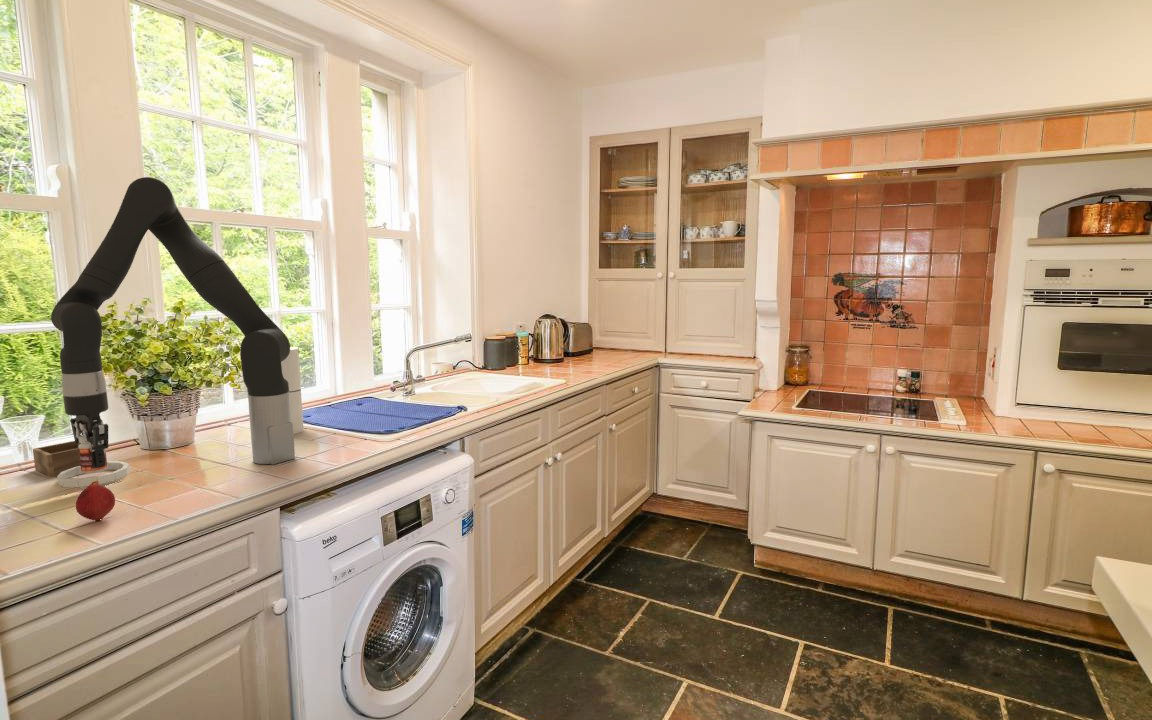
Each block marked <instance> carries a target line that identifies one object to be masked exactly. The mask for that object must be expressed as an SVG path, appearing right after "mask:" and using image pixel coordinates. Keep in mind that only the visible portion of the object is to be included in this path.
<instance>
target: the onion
mask: <svg viewBox="0 0 1152 720" xmlns="http://www.w3.org/2000/svg"><path fill="white" fill-rule="evenodd" d="M98 483H99V482H98V481H97V480H96V481H93V482H92V483H91V484H90V485H89V486H86V487H85V488H84V490H83V489H82V490H81V492H80V493H79V494H78V497H77V499H76V500H75V501H76V502H75V510H76V512H77V513H78V514H79V515H80V516H81V517H82V518H85V519H87V520H92V521H94V520H100V519H102V520H103V519H104V518H105V517H106V516H107V515H108V514H110V513H111V511H112V510H113V509H114V508H115V505H116V497H115V494H114V492H113V491H112V490H111V489H109V488H108V487H107V486H101V485H102V484H98ZM100 521H101V520H100Z"/></svg>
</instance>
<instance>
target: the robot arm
mask: <svg viewBox="0 0 1152 720" xmlns="http://www.w3.org/2000/svg"><path fill="white" fill-rule="evenodd" d="M148 230H149V231H150V232H151V234H152V235H153V236H154V237H155V238H156V239H157V240H158V241H159V242H160V243H161V244H162V245H163V247H164V248H165V249H166V251H168V253H169V255H170V257H171V258H172V260H173V262H174V263H175V265H176V266H177V268H178V269H179V270H180V272H181V273H182V275H183V276H184V277H185V279H186V280H187V282H188V283H189V284H190V285H191V286H192V287H193V289H194V290H195V292H196V293H197V294H198V295H199V296H200V297H201V299H203V300H204V301H205V302H206V303H208V304H209V305H210V306H211V307H212V308H214V309H215V310H216V311H218V312H219V313H221V314H222V315H224V316H225V317H226V318H228V319H229V320H230V321H231V322H233V323H234V325H236V326H237V327H238V330H239V331H241V333H242V334H243V335H244V337H243V339H242V340H241V343H240V349H239V350H240V351H239V355H240V363H241V373H242V379H243V384H244V385H245V387H246V390H247V400H248V413H249V414H248V415H249V424H250V425H249V426H250V427H249V429H250V439H251V452H252V453H251V454H252V462H253V463H255V464H259V465H268V464H269V465H276V464H280V463H283V462H286V461H289V460H293V459H296V451H295V440H294V439H295V438H294V437H295V436H294V435H295V434H293V423H292V422H291V415H290V400H289V385H288V381H287V380H286V379H284V377H283V374H282V367H281V362H282V361H283V360H285V359H286V358H287V357H288V355H289V353H290V347H291V344H290V340H289V338H288V336H287V335H286V334H285V333H284V332H283V330H282V329H281V328H280V327H279V326H278V325H277V324H276V323H275V322H274V321H273V320H272V319H271V318H270V317H269V316H268V315H267V313H266V312H264V311H263V310H262V308H261V307H260V306H259V305H258V303H256V301H255V299H253V296H252V295H251V294H250V293H249V292H248V290H247V289H246V288H245V286H244V285H243V284H242V282H241V281H240V280H239V279H238V277H237V276H236V274H235V273H234V272H233V270H232V269H231V268H230V266H228V264H227V263H226V261H225V260H224V259H223V258H222V257H221V256H220V255H219V254H218V252H216V251H215V250H214V249H213V248H212V247H211V246H209V245H208V244H207V243H206V242H205V241H203V239H201V238H200V237H199V236H198V235H197V234H196V233H195V231H194V230H193V229H192V228H191V227H190V225H189V223H188V222H187V220H186V219H185V218H184V216H183V214H182V213H181V212H180V210H179V208H178V206H177V204H176V201H175V196H174V194H173V192H172V190H171V188H170V187H169V186H168V185H167V183H165V182H164V181H162V180H160V179H159V178H155V177H150V176H149V177H148V176H145V177H139V178H136V179H135V180H133V181H132V182H130V184H129V185H128V187H127V189H126V191H125V194H124V196H123V199H122V202H121V203H120V207H119V208H118V211H117V213H116V216H115V218H114V220H113V223H112V224H111V225H110V228H109V229H108V231H107V233H106V235H105V237H104V238H103V240H102V241H101V243H100V245H99V246H98V248H97V250H96V251H95V253H93V256H92V257H91V258H90V260H89V261H88V263H87V264H86V266H85V267H84V268H83V270H82V272H81V274H80V275H79V277H78V279H77V280H76V282H75V283H74V284H73V285H72V286H71V287H70V288H69V289H67V291H66V292H65V293H64V295H63V296H62V297H61V298H60V299H59V300H58V301H57V303H56V304H55V306H54V308H53V309H52V311H51V314H50V320H51V323H52V324H53V325H52V326H54V327H55V328H56V329H57V330H59V331H60V332H62V339H63V340H62V341H63V347H62V348H61V350H60V352H59V361H60V362H59V363H60V369H61V389H62V397H63V403H64V404H63V405H64V412H65V415H67V416H73V418H70V421H69V422H70V425H71V428H72V435H73V438H74V441H75V443H76V444H78V446H79V445H80V444H81V443H80V442H79V436H81V435H83V436H84V439H85V442H86V443H88V444H89V448H90V451H91V459H92V466H93V467H94V468H99V467H103V466H105V456H104V450H105V449H106V450H107V449H109V424H108V423H104V421H103V419H102V418H101V416H100V414H101V413H104V412H106V411H107V410H109V402H108V401H109V400H108V393H107V392H108V391H107V386H106V385H107V383H106V378H105V375H104V371H103V363H102V355H101V345H102V335H103V333H102V332H103V325H102V324H103V322H102V317H101V315H100V313H99V311H98V310H99V309H100V307H101V306H102V305H103V304H104V302H106V301H107V300H111V298H112V297H113V296H114V295H115V294H116V292H117V291H118V289H119V287H120V286H121V285H122V283H123V282H124V280H125V278H126V276H127V275H128V273H129V270H130V269H131V267H132V264H133V263H134V260H135V256H136V254H137V252H138V250H139V246H140V245H141V243H142V241H143V238H144V237H145V235H146V233H147V232H148ZM74 416H75V417H74ZM92 436H93V438H90V437H92ZM98 441H99V443H100V444H99V445H98Z"/></svg>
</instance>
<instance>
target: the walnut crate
mask: <svg viewBox="0 0 1152 720" xmlns="http://www.w3.org/2000/svg"><path fill="white" fill-rule="evenodd" d="M32 454H33V455H32V456H33V463H34V469H35V471H36V472H38V473H39V474H42V475H44V476H45V477H48V478H54V477H57V476H58V475H59V474H60V473H61V472H63V471H65V470H68V469H71V468H73V467H77V466H80V458H79V450H78V444H76V443H75V440H72V441H66V442H61V443H56V444H51V445H46V446H40V447H36V448H32Z"/></svg>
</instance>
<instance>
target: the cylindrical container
mask: <svg viewBox="0 0 1152 720" xmlns="http://www.w3.org/2000/svg"><path fill="white" fill-rule="evenodd" d="M299 353H300V352H299V347H295V346H292V347H291V346H290V353H289V355H288V357H287V358H286V359H285V360H283V361H282V362H281V367H282V374H283V377H284V379H286V380H287V381H288V385H289V400H290V415H291V422H292V423H293V435H295V434H299V433H301V432H304V419H303V417H304V416H303V415H304V414H303V402H302V400H303V399H302V387H301V386H302V385H301V369H300V357H299Z"/></svg>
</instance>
